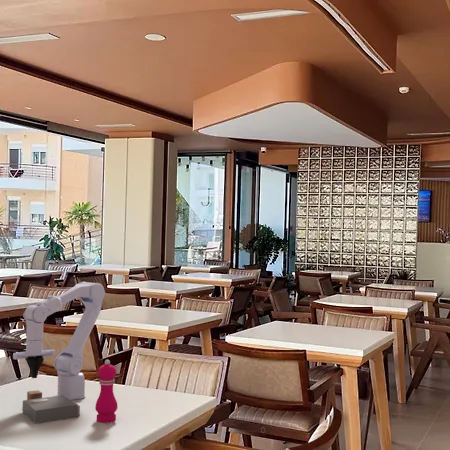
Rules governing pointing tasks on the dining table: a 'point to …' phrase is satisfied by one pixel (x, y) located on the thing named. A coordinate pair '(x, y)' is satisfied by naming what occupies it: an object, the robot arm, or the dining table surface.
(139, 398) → the dining table surface
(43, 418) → the box
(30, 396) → the walnut block
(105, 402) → the pepper mill
